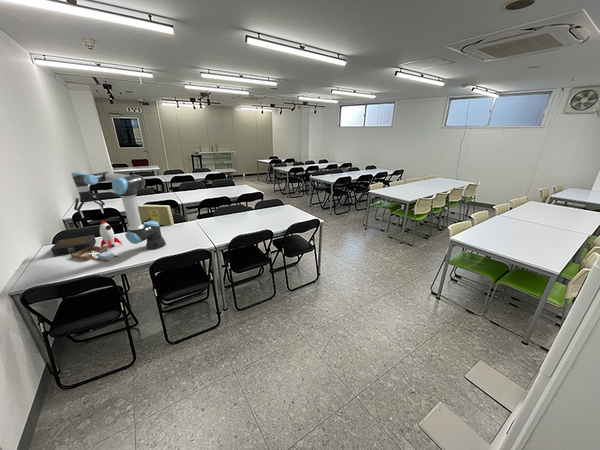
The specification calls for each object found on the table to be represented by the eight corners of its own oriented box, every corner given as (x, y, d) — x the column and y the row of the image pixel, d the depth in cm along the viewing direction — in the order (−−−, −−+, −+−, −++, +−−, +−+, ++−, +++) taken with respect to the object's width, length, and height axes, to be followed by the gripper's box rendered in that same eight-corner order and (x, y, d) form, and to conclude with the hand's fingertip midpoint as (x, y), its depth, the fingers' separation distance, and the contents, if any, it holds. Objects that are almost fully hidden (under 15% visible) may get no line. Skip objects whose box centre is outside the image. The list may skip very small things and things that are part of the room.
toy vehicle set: (174, 223, 261) (170, 205, 253) (171, 225, 257) (167, 206, 249) (145, 222, 265) (140, 204, 256) (142, 224, 260) (136, 205, 252)
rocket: (111, 250, 204) (101, 223, 195) (101, 249, 206) (91, 222, 197) (122, 244, 214) (114, 219, 205) (112, 243, 216) (104, 218, 207)
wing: (114, 256, 193) (113, 253, 192) (107, 260, 188) (105, 256, 187) (106, 255, 196) (105, 251, 194) (99, 258, 190) (97, 255, 189)
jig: (122, 254, 197) (121, 250, 196) (102, 264, 183) (101, 260, 182) (93, 249, 206) (92, 245, 205) (72, 258, 192) (70, 254, 191)
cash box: (53, 257, 193) (49, 249, 190) (61, 247, 210) (58, 239, 207) (91, 250, 204) (88, 242, 201) (96, 241, 221) (94, 234, 218)
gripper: (101, 187, 205) (109, 210, 213) (62, 193, 187) (73, 218, 195) (103, 188, 200) (111, 212, 208) (64, 194, 182) (75, 220, 190)
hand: (93, 215), depth 201 cm, fingers open, 13 cm apart
